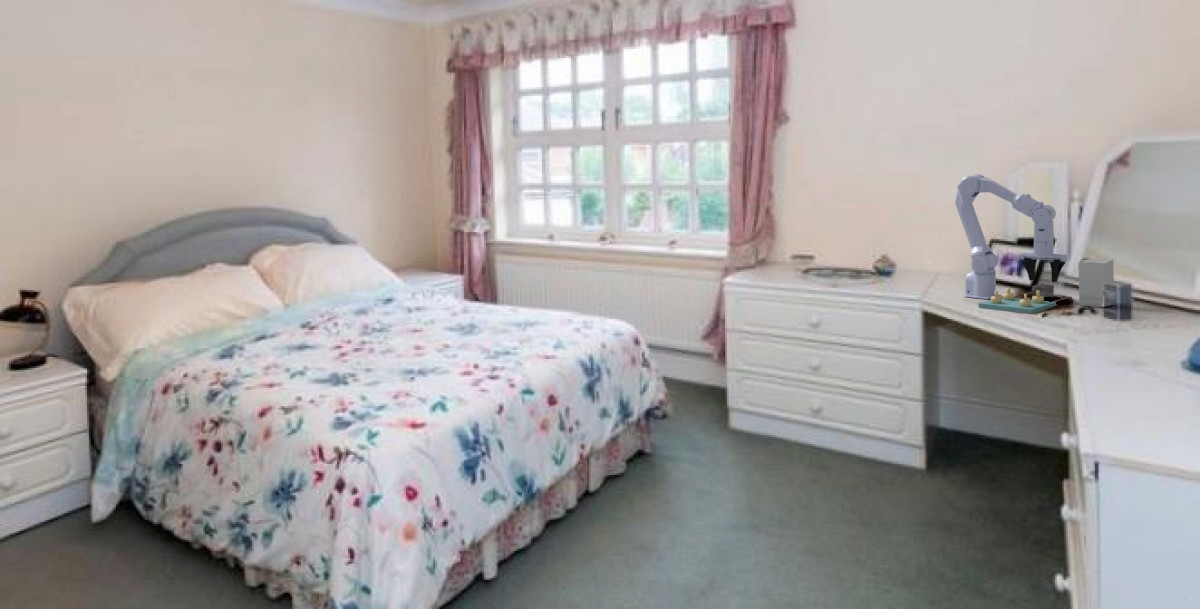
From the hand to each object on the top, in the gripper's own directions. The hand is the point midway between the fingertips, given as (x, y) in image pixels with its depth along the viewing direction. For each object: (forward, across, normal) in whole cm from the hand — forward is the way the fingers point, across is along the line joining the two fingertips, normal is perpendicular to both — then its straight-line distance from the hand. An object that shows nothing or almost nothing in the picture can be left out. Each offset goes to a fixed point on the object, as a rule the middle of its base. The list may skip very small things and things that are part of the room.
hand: (1043, 280), depth 253 cm
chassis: (+7, 0, +15) cm, 16 cm away
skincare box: (+7, -17, 0) cm, 18 cm away
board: (+7, 0, 0) cm, 7 cm away
